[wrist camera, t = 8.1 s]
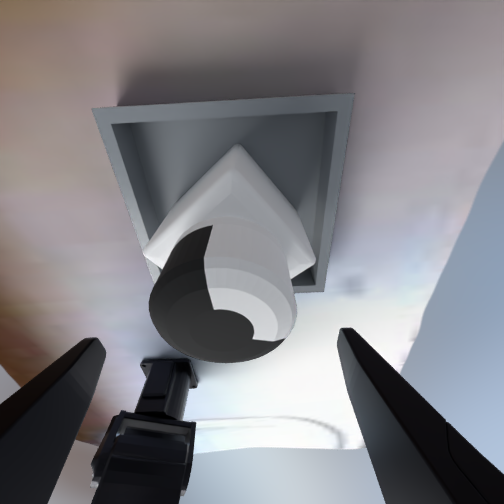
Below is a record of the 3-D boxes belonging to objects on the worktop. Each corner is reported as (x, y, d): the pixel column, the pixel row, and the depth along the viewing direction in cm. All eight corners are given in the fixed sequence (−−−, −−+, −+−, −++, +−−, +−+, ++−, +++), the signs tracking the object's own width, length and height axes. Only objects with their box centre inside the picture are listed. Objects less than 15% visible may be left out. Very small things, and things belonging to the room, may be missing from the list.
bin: (315, 270, 24) (323, 291, 21) (168, 277, 24) (159, 298, 21) (337, 93, 16) (354, 93, 13) (116, 106, 16) (91, 108, 13)
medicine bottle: (234, 259, 22) (222, 397, 12) (172, 205, 19) (88, 327, 9) (298, 212, 20) (350, 336, 9) (238, 140, 17) (221, 210, 7)
